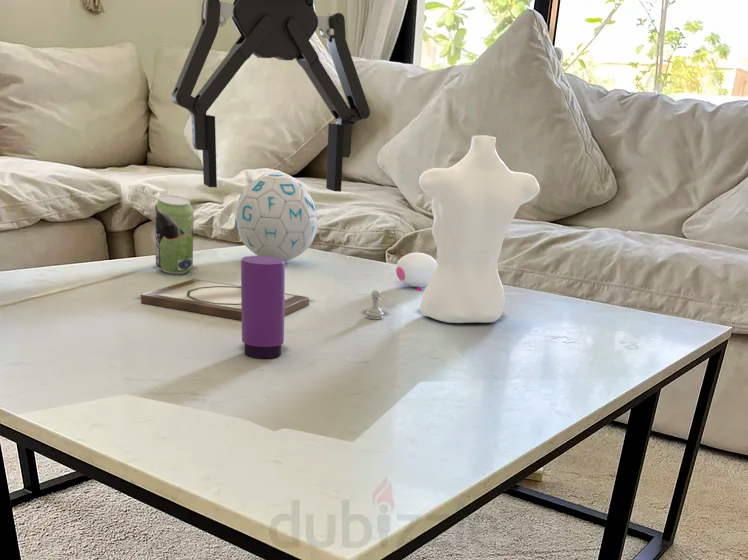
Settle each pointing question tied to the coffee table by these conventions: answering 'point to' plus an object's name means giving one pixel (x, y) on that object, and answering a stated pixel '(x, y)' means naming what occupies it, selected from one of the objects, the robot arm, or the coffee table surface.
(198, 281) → the drawing board
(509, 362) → the coffee table surface
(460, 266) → the torso sculpture
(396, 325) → the coffee table surface
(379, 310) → the pawn
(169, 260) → the beverage can
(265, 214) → the puzzle ball
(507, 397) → the coffee table surface
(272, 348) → the dot marker
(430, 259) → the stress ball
